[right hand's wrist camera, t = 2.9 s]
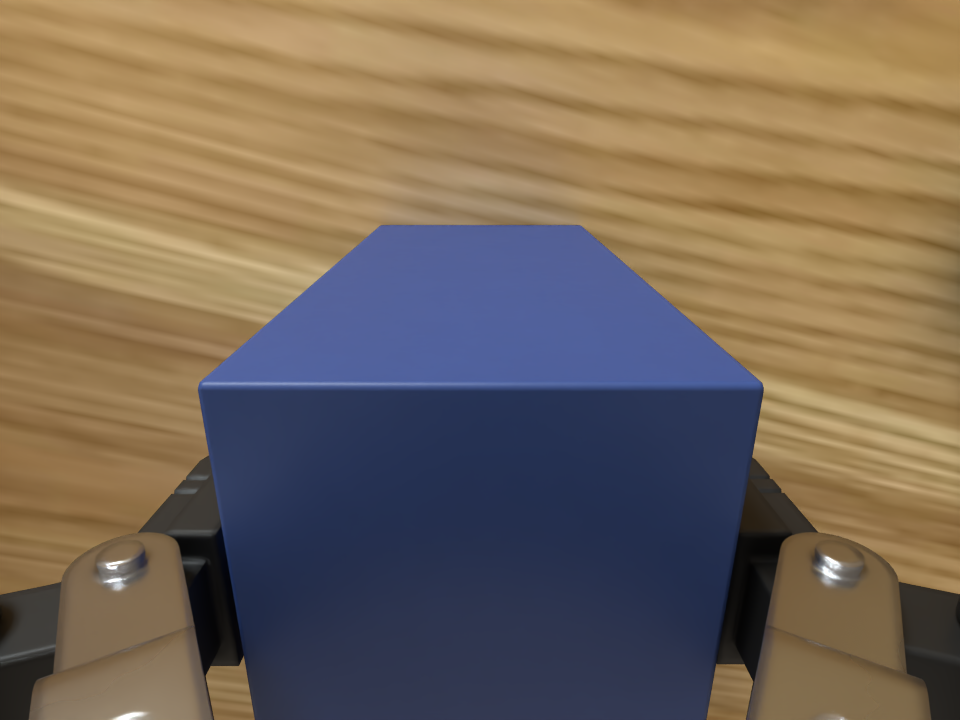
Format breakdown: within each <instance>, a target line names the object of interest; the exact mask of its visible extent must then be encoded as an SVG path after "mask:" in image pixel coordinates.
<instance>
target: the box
mask: <svg viewBox="0 0 960 720" xmlns="http://www.w3.org/2000/svg"><path fill="white" fill-rule="evenodd" d="M763 391H764V388H763V384H762V382H761V381H759V380H758V379H757V378H756V377H755V376H754V375H752V374H751V373H750V372H749V371H748V370H747V369H746V368H744V367H743V366H742V365H741V364H740V363H739V362H737V361H736V360H735V359H734V358H733V357H732V356H731V355H729V354H728V353H727V352H726V351H725V350H724V349H722V348H721V347H720V346H719V345H718V344H717V343H716V342H714V341H713V340H712V339H711V338H710V337H709V336H708V335H706V334H705V333H704V332H703V331H702V330H701V329H699V328H698V327H697V326H696V325H695V324H694V323H693V322H691V321H690V320H689V319H688V318H687V317H686V316H684V315H683V314H682V313H681V312H680V311H679V310H678V309H676V308H675V307H674V306H673V305H672V304H671V303H669V302H668V301H667V300H666V299H665V298H664V297H663V296H661V295H660V294H659V293H658V292H657V291H656V290H655V289H653V288H652V287H651V286H650V285H649V284H648V283H646V282H645V281H644V280H643V279H642V278H641V277H640V276H638V275H637V274H636V273H635V272H634V271H633V270H631V269H630V268H629V267H628V266H627V265H626V264H625V263H623V262H622V261H621V260H620V259H619V258H618V257H616V256H615V255H614V254H613V253H612V252H611V251H610V250H608V249H607V248H606V247H605V246H604V245H603V244H601V243H600V242H599V241H598V240H597V239H596V238H595V237H593V236H592V235H591V234H590V233H589V232H588V231H587V230H585V229H584V228H583V227H582V226H580V225H381V226H379V227H378V228H377V229H376V230H375V231H374V232H372V233H371V234H370V235H369V236H368V237H367V238H366V239H364V240H363V241H362V242H361V243H360V244H359V245H358V246H356V247H355V248H354V249H353V250H352V251H351V252H349V253H348V254H347V255H346V256H345V257H344V258H343V259H341V260H340V261H339V262H338V263H337V264H336V265H334V266H333V267H332V268H331V269H330V270H329V271H328V272H326V273H325V274H324V275H323V276H322V277H321V278H319V279H318V280H317V281H316V282H315V283H314V284H313V285H311V286H310V287H309V288H308V289H307V290H306V291H305V292H303V293H302V294H301V295H300V296H299V297H298V298H296V299H295V300H294V301H293V302H292V303H291V304H290V305H288V306H287V307H286V308H285V309H284V310H283V311H281V312H280V313H279V314H278V315H277V316H276V317H275V318H273V319H272V320H271V321H270V322H269V323H268V324H267V325H265V326H264V327H263V328H262V329H261V330H260V331H258V332H257V333H256V334H255V335H254V336H253V337H252V338H250V339H249V340H248V341H247V342H246V343H245V344H243V345H242V346H241V347H240V348H239V349H238V350H237V351H235V352H234V353H233V354H232V355H231V356H230V357H228V358H227V359H226V360H225V361H224V362H223V363H222V364H220V365H219V366H218V367H217V368H216V369H215V370H214V371H212V372H211V373H210V374H209V375H208V376H207V377H205V378H204V379H203V380H202V381H201V382H200V383H199V387H198V393H199V398H200V404H201V410H202V416H203V422H204V427H205V433H206V439H207V445H208V450H209V456H210V462H211V468H212V474H213V479H214V485H215V491H216V497H217V503H218V508H219V514H220V520H221V526H222V531H223V537H224V543H225V549H226V555H227V560H228V566H229V572H230V578H231V584H232V589H233V595H234V601H235V607H236V612H237V618H238V624H239V630H240V636H241V641H242V647H243V653H244V659H245V665H246V670H247V676H248V682H249V688H250V693H251V699H252V705H253V711H254V717H255V720H706V718H707V713H708V707H709V701H710V695H711V690H712V684H713V678H714V672H715V667H716V661H717V655H718V649H719V644H720V638H721V632H722V627H723V621H724V615H725V609H726V604H727V598H728V592H729V586H730V581H731V575H732V569H733V563H734V558H735V552H736V546H737V541H738V535H739V529H740V523H741V518H742V512H743V506H744V500H745V495H746V489H747V483H748V477H749V472H750V466H751V460H752V455H753V449H754V443H755V437H756V432H757V426H758V420H759V414H760V409H761V403H762V397H763Z"/></svg>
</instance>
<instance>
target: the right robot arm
mask: <svg viewBox="0 0 960 720" xmlns="http://www.w3.org/2000/svg"><path fill="white" fill-rule="evenodd" d="M243 656H244V653H243V647H242V641H241V636H240V630H239V624H238V618H237V612H236V607H235V601H234V595H233V589H232V584H231V578H230V572H229V566H228V560H227V555H226V549H225V543H224V537H223V531H222V526H221V520H220V514H219V508H218V503H217V497H216V491H215V485H214V479H213V474H212V468H211V462H210V456H207V457H206V458H204V459H202V460H201V461H200V462H199V463H198V464H197V465H196V466H195V468H194V469H193V470H192V471H191V472H190V473H189V474H188V476H187V477H186V480H183V481H182V482H181V484H180V485H179V486H178V487H177V488H176V489H175V493H174V494H171V495H170V496H169V497H168V499H167V500H166V501H165V502H164V503H163V504H162V505H161V507H160V508H159V509H158V510H157V511H156V512H155V514H154V515H153V516H152V517H151V518H150V519H149V520H148V522H147V523H146V524H145V525H144V526H143V527H142V528H141V530H140V531H139V532H138V533H135V534H129V535H125V536H121V537H118V538H114V539H111V540H109V541H106V542H104V543H101V544H99V545H97V546H95V547H93V548H92V549H90V550H88V551H87V552H85V553H84V554H82V555H81V556H79V557H78V558H77V559H76V560H75V561H74V562H72V563H71V564H70V566H69V567H68V568H67V569H66V571H65V573H64V575H63V577H62V581H61V582H60V583H56V584H51V585H47V586H42V587H37V588H32V589H27V590H22V591H17V592H12V593H7V594H2V595H0V720H214V716H213V711H212V706H211V701H210V696H209V691H208V686H207V681H206V674H207V672H208V670H209V668H210V666H239V665H240V662H241V660H242V658H243ZM716 664H745V666H746V668H747V670H748V672H749V674H750V676H751V678H752V680H753V686H752V691H751V696H750V701H749V706H748V711H747V716H746V720H960V594H955V593H950V592H945V591H940V590H935V589H930V588H926V587H921V586H916V585H911V584H906V583H901V582H899V581H898V577H897V575H896V573H895V571H894V569H893V568H892V567H891V566H890V564H889V563H888V562H886V561H885V560H884V559H883V558H882V557H881V556H879V555H878V554H876V553H875V552H873V551H872V550H870V549H868V548H867V547H865V546H863V545H861V544H859V543H856V542H854V541H851V540H849V539H846V538H842V537H839V536H835V535H831V534H825V533H818V532H817V530H816V529H815V528H814V527H813V526H812V525H811V523H810V522H809V521H808V520H807V519H806V518H805V516H804V515H803V514H802V513H801V512H800V511H799V510H798V508H797V507H796V506H795V505H794V504H793V503H792V501H791V500H790V499H789V498H788V497H787V496H786V494H785V493H781V489H780V487H779V486H778V485H777V484H776V483H775V482H774V480H773V479H770V476H769V475H768V473H767V472H766V471H765V470H764V469H763V468H762V466H761V465H760V464H759V463H758V462H757V461H756V460H755V459H754V458H752V460H751V466H750V472H749V477H748V483H747V489H746V495H745V500H744V506H743V512H742V518H741V523H740V529H739V535H738V541H737V546H736V552H735V558H734V563H733V569H732V575H731V581H730V586H729V592H728V598H727V604H726V609H725V615H724V621H723V627H722V632H721V638H720V644H719V649H718V655H717V661H716Z"/></svg>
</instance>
